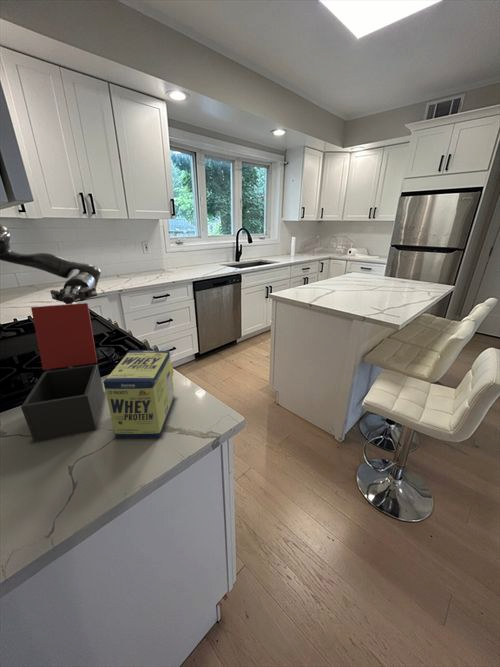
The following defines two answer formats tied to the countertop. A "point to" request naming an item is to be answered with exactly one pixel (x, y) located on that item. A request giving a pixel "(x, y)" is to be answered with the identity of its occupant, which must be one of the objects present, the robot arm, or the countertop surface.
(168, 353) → the protein box
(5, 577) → the countertop surface
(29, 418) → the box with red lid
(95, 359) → the lid
